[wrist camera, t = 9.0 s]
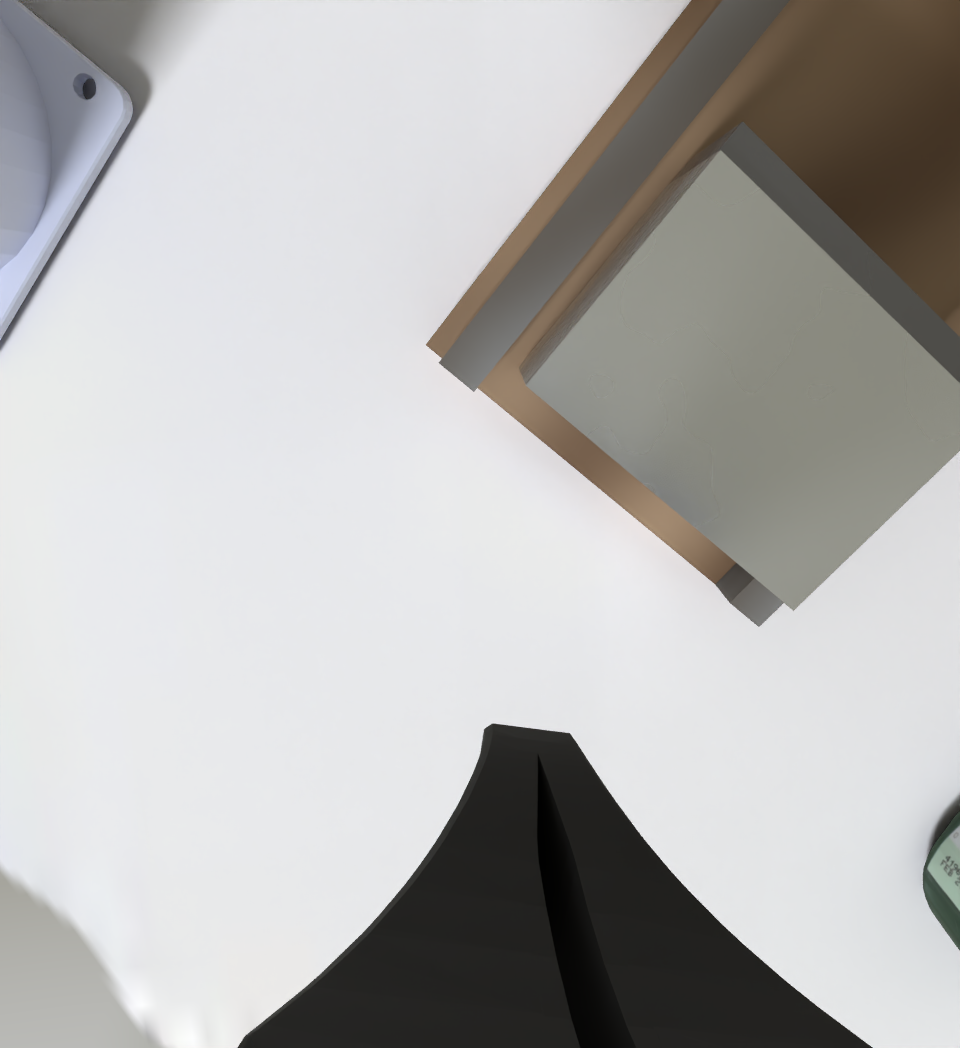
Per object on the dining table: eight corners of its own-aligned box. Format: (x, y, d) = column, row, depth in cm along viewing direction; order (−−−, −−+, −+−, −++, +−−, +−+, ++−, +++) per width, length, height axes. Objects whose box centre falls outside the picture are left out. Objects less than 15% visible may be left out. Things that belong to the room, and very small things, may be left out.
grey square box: (518, 367, 17) (525, 385, 13) (687, 161, 15) (747, 117, 12) (732, 548, 18) (793, 610, 14) (906, 371, 17) (1021, 391, 13)
